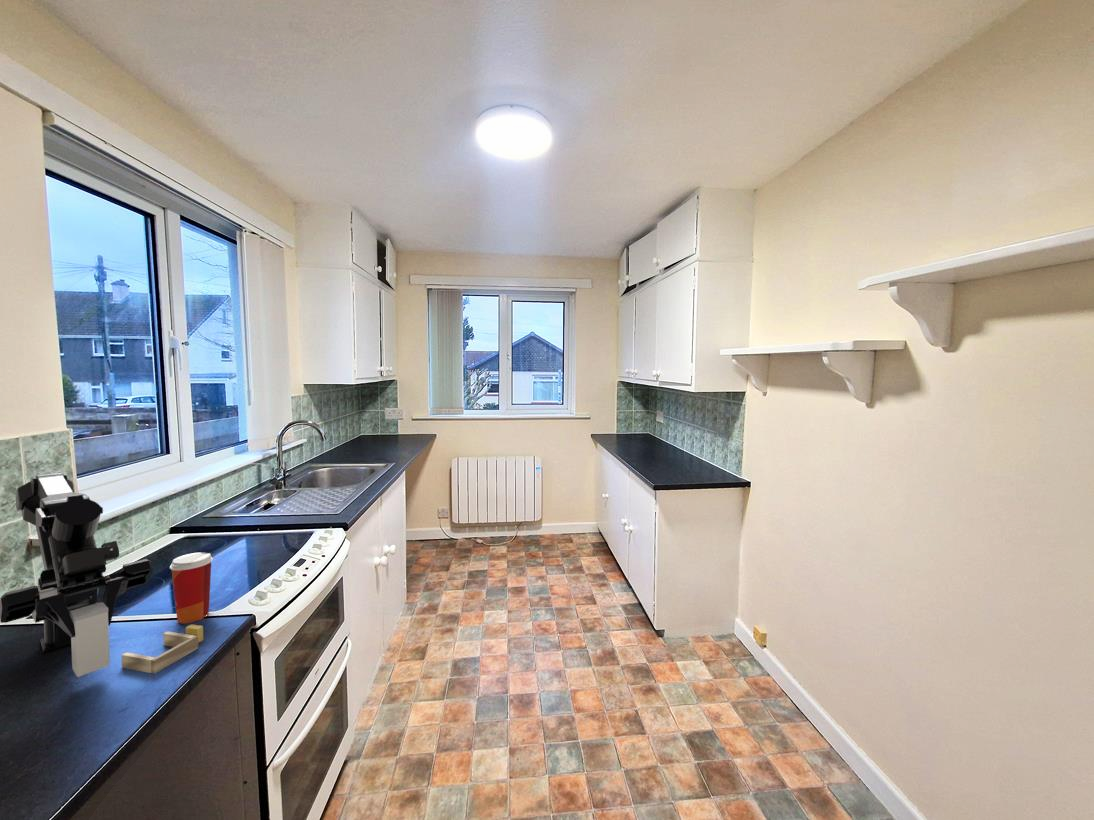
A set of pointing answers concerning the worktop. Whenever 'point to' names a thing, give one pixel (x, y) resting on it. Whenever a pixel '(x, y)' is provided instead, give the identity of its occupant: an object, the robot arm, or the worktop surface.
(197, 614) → the paper cup
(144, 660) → the bay
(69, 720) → the worktop surface
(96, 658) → the white plug
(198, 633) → the mustard block
